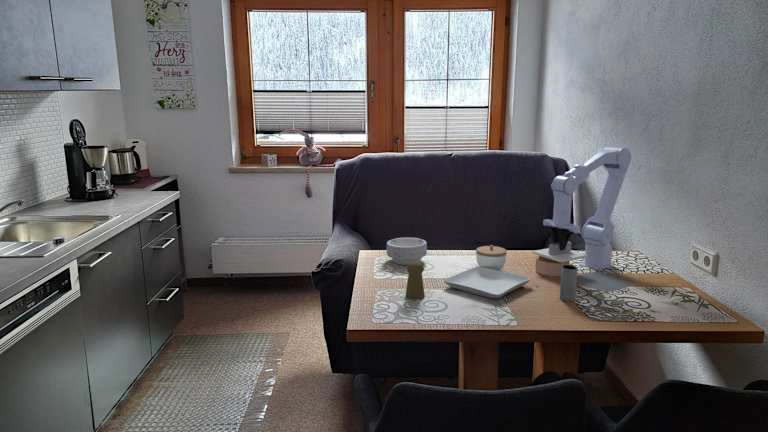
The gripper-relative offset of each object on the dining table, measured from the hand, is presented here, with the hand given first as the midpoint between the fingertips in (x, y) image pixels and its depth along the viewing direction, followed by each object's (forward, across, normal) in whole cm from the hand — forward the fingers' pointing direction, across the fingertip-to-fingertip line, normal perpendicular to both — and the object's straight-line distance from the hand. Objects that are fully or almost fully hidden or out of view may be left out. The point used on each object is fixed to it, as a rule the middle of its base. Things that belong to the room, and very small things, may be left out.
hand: (559, 249), depth 189 cm
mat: (+9, +14, +5) cm, 17 cm away
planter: (+9, +19, -17) cm, 27 cm away
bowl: (+9, -2, -1) cm, 9 cm away
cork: (+9, -8, -56) cm, 57 cm away
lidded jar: (+9, -15, -18) cm, 25 cm away
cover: (+2, 0, 0) cm, 2 cm away
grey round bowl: (+9, -40, -37) cm, 56 cm away
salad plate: (+10, -2, -31) cm, 32 cm away
